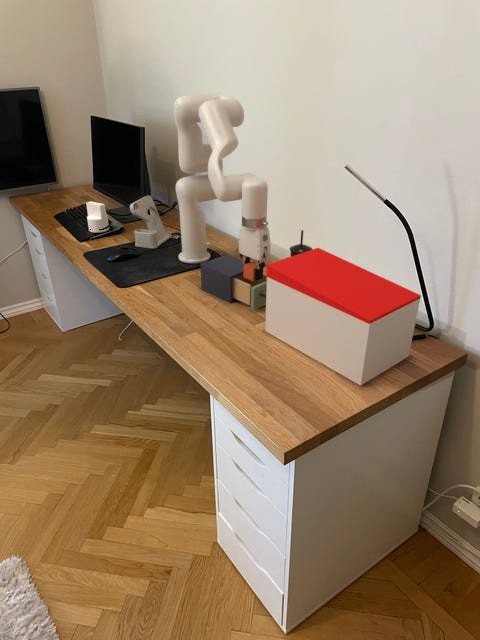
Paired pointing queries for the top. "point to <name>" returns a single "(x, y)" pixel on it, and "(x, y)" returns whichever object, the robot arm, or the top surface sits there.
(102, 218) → the base with upright slab
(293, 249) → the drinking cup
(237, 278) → the drawer
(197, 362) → the top surface
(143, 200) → the phone holder
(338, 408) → the top surface
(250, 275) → the block
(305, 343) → the red-lidded white box
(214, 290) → the cabinet
